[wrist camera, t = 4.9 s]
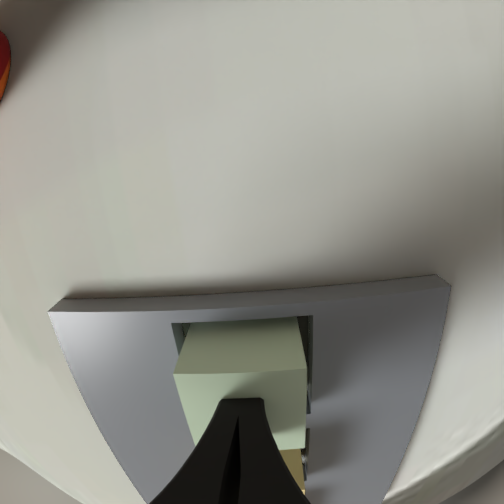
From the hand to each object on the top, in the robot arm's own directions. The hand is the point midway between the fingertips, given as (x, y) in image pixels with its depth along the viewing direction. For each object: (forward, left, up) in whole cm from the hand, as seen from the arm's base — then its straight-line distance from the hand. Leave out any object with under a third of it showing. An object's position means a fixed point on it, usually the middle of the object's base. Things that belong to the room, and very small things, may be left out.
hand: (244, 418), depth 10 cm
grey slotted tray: (0, +6, -3) cm, 7 cm away
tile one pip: (0, 0, -3) cm, 3 cm away
